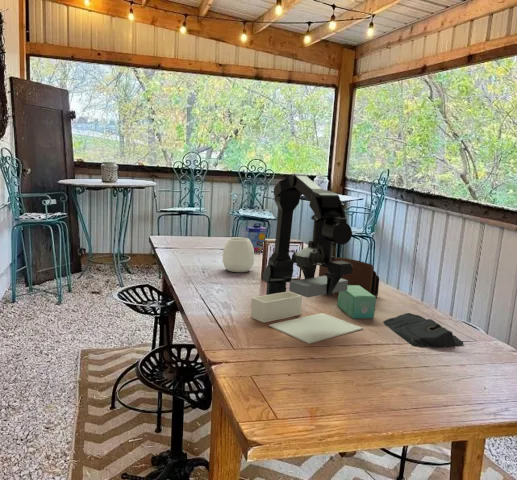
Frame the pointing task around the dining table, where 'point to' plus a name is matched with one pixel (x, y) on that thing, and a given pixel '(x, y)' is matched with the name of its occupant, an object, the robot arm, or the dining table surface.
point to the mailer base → (276, 306)
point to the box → (357, 302)
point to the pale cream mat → (315, 327)
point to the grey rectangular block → (315, 286)
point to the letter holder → (358, 275)
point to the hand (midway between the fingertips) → (318, 292)
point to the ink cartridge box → (256, 236)
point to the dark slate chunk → (422, 331)
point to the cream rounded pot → (238, 254)
